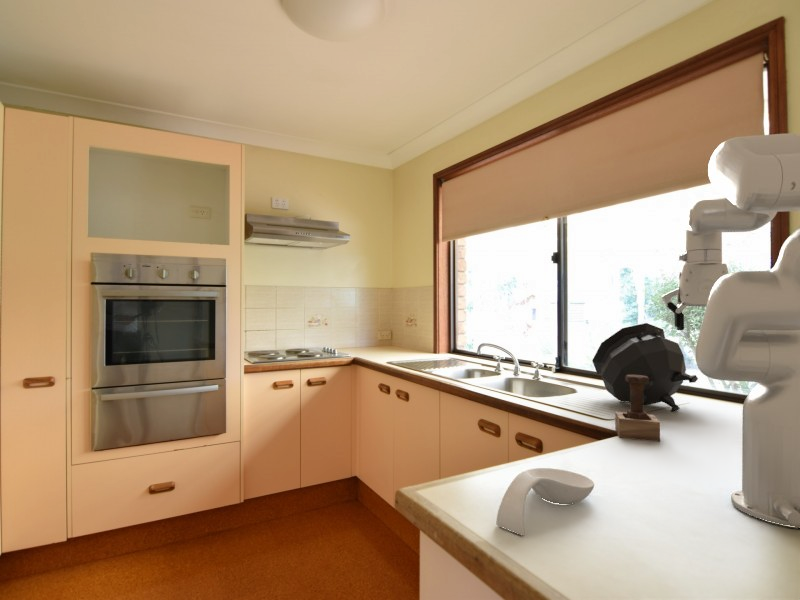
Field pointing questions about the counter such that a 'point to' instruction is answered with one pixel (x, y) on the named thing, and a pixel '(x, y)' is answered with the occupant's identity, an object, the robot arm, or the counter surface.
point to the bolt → (637, 396)
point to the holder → (637, 427)
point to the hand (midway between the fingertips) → (703, 330)
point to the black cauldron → (642, 364)
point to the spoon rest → (540, 493)
